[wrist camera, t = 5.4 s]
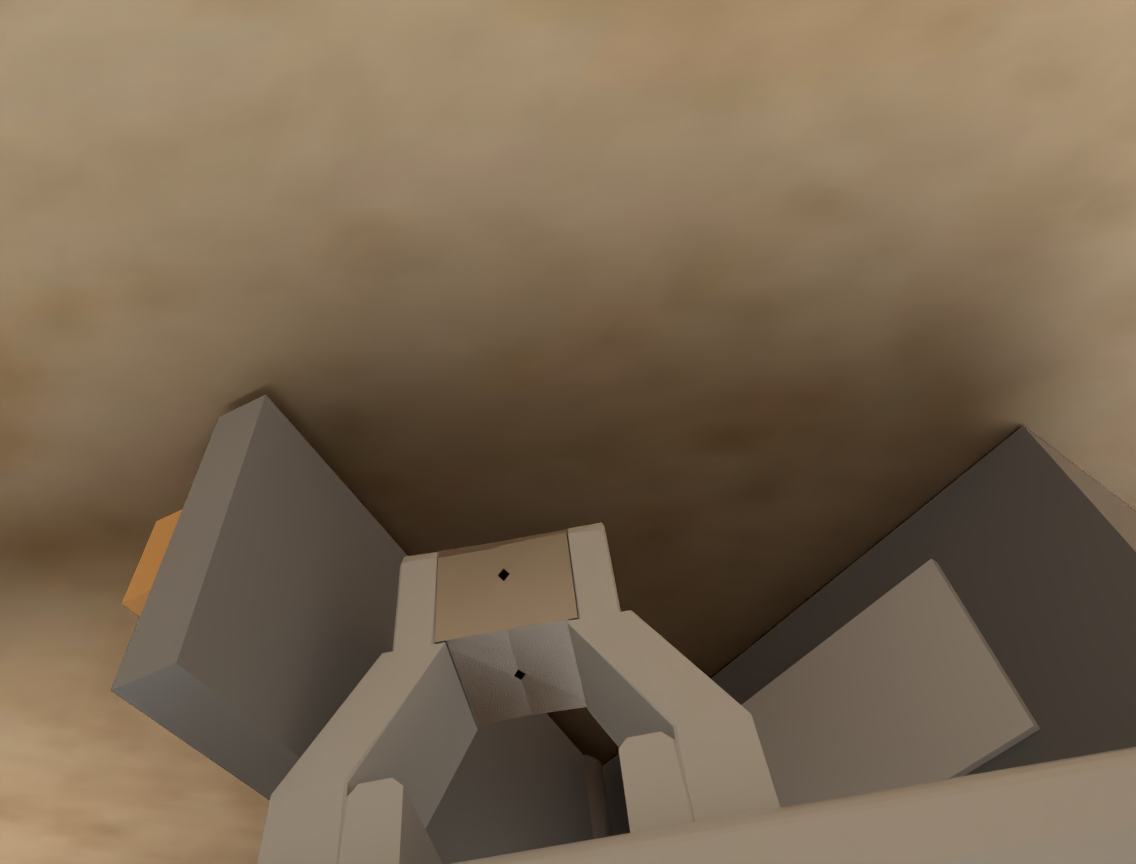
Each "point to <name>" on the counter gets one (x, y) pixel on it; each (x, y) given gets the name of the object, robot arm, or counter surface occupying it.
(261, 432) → the side door
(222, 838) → the counter surface
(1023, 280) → the counter surface
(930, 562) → the box
